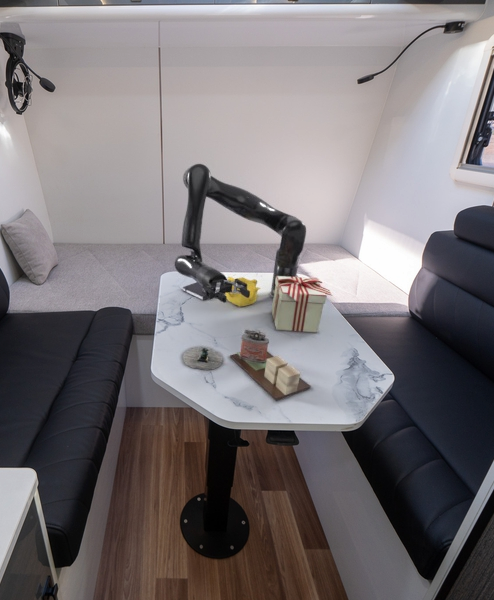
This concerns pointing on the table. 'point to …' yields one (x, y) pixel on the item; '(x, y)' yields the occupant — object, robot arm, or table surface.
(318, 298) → the gift box
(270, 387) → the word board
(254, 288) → the teapot
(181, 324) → the table surface
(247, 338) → the lighter
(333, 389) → the table surface
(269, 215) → the robot arm
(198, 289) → the notebook
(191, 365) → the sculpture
